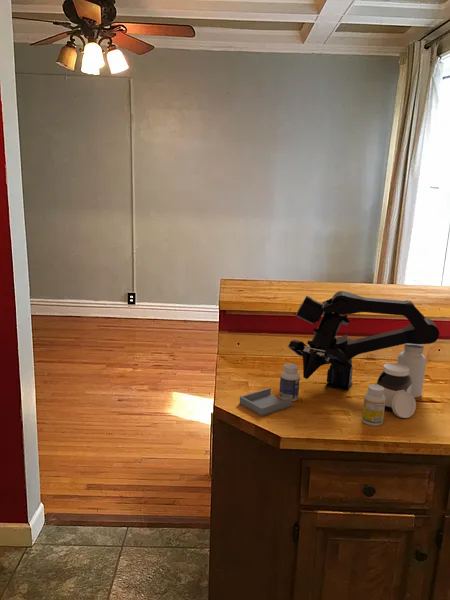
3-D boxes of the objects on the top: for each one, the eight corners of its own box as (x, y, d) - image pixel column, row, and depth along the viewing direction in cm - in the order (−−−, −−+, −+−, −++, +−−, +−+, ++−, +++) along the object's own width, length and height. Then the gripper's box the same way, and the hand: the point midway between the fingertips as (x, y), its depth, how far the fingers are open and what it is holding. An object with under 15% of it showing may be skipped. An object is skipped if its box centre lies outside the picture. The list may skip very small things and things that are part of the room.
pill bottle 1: (297, 403, 150) (300, 370, 147) (278, 400, 151) (280, 368, 148) (298, 395, 155) (301, 363, 152) (280, 393, 156) (282, 361, 153)
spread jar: (388, 397, 156) (392, 359, 153) (425, 410, 149) (430, 370, 146) (365, 408, 148) (370, 368, 145) (404, 423, 140) (409, 381, 137)
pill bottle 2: (423, 390, 162) (429, 343, 158) (420, 400, 155) (427, 351, 151) (395, 385, 165) (401, 339, 162) (391, 395, 158) (397, 346, 154)
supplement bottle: (377, 428, 137) (381, 393, 134) (358, 421, 140) (361, 387, 138) (386, 421, 141) (390, 387, 139) (367, 414, 144) (371, 381, 142)
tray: (269, 394, 154) (269, 387, 154) (291, 406, 147) (292, 399, 147) (239, 403, 147) (239, 396, 147) (261, 416, 141) (261, 408, 140)
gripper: (366, 348, 155) (345, 397, 151) (318, 339, 170) (298, 383, 166) (346, 329, 149) (323, 379, 145) (298, 322, 164) (276, 367, 160)
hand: (305, 378), depth 154 cm, fingers closed
